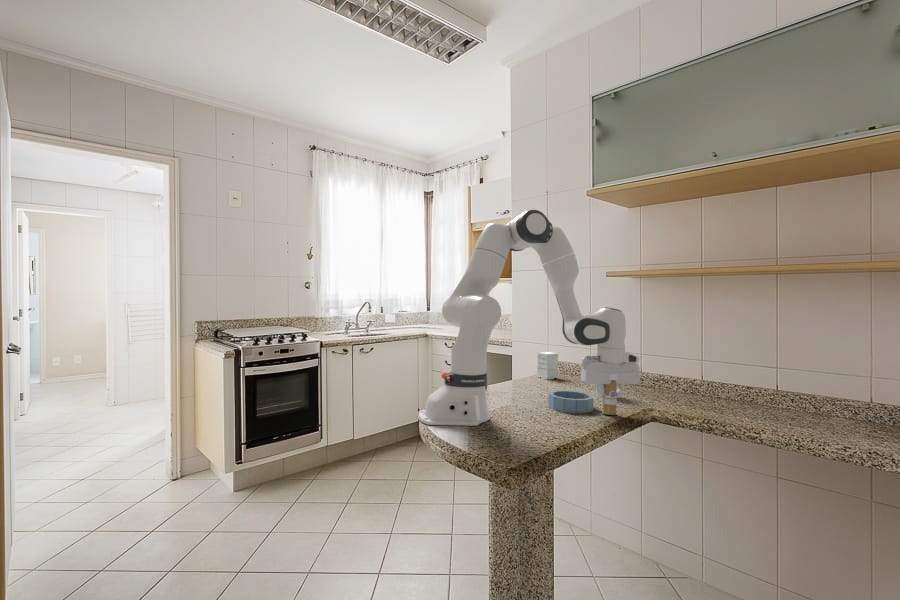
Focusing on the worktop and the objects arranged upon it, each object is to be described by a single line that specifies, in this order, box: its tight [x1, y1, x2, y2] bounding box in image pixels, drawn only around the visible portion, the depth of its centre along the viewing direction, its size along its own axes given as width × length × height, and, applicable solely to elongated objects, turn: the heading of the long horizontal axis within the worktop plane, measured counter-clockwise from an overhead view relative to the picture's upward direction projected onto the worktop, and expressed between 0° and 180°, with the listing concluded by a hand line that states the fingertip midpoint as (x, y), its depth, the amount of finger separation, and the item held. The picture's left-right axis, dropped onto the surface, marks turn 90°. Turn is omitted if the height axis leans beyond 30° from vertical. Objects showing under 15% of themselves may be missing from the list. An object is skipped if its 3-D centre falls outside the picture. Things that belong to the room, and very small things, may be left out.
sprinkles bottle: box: [601, 374, 618, 416], centre depth 141 cm, size 5×5×13 cm
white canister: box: [536, 351, 559, 380], centre depth 208 cm, size 7×7×13 cm
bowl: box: [548, 389, 594, 414], centre depth 149 cm, size 15×15×4 cm
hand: (609, 397), depth 141 cm, fingers closed on sprinkles bottle, 4 cm apart
